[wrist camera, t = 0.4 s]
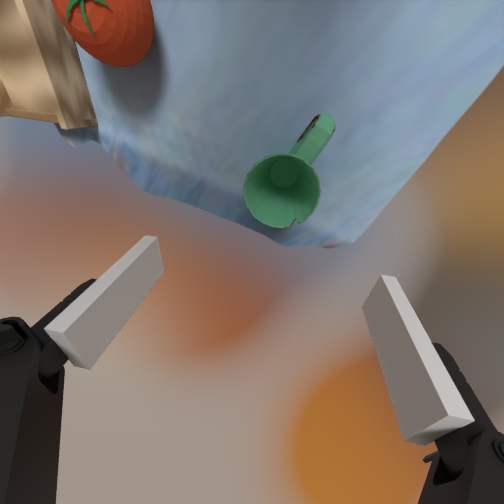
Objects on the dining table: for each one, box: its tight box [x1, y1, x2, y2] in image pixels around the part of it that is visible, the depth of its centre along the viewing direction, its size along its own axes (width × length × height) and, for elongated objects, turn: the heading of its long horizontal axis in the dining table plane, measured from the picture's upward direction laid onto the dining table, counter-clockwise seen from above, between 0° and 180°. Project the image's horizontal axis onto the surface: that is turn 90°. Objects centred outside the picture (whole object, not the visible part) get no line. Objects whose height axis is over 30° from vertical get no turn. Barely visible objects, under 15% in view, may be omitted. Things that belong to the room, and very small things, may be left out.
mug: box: [244, 114, 336, 228], centre depth 30 cm, size 15×10×10 cm
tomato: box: [51, 0, 154, 67], centre depth 24 cm, size 10×10×10 cm
